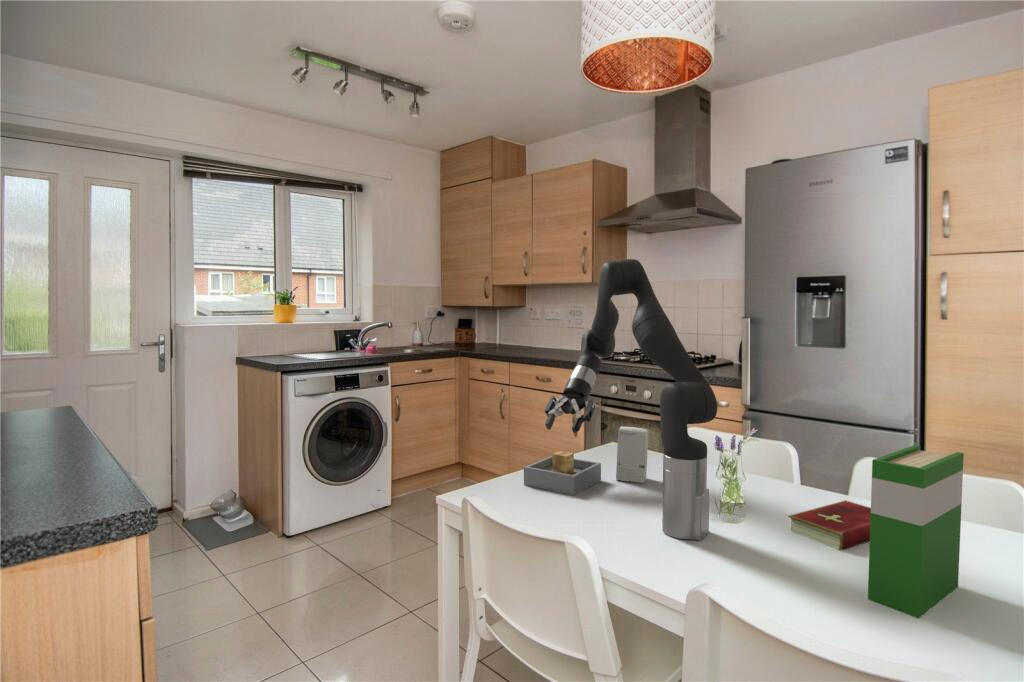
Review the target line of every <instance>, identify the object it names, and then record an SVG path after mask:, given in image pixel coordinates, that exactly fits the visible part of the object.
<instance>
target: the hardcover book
mask: <svg viewBox="0 0 1024 682" xmlns="http://www.w3.org/2000/svg"><path fill="white" fill-rule="evenodd" d="M788 518H790V523H791V524H790V531H792V533H793V534H797V535H799V534H800V536H802V537H805V538H807V537H808V539H811V540H813V541H815V542H818V541H819V542H818V543H821V544H824V545H826V544H827V545H826V546H829V547H832V548H834V549H836V550H837V549H838V551H841V550H842V551H844V550H847V549H849V548H852V547H856V546H859V545H861V544H865V543H868V542H870V519H871V506H870V507H869V506H866V505H863V504H859V503H856V502H853V501H849V500H845V499H844V500H840V501H837V502H833V503H831V504H827V505H824V506H819V507H816V508H812V509H808V510H805V511H801V512H796V513H794V514H790V515H789V514H788ZM867 541H868V542H867ZM864 542H865V543H864Z"/></svg>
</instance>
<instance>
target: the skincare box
mask: <svg viewBox="0 0 1024 682" xmlns="http://www.w3.org/2000/svg"><path fill="white" fill-rule="evenodd" d="M649 431H650V430H649V429H648V428H640V427H633V426H623V425H622V426H620V427H619V428H618V432H617V433H618V434H617V447H616V448H617V452H616V467H615V469H616V472H615V475H616V476H615V479H616V481H618V480H621V481H622V482H629V481H631V483H640V484H644V483H645V481H646V479H647V470H648V469H647V468H648V449H649V448H648V447H649Z"/></svg>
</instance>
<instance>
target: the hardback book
mask: <svg viewBox="0 0 1024 682" xmlns="http://www.w3.org/2000/svg"><path fill="white" fill-rule="evenodd" d="M964 455H965V453H964V452H958V451H957V452H954V453H952V454H945V453H938V452H933V451H926V450H921V445H917V444H914V445H911V446H908V447H904V448H902V449H900V450H899V449H898V450H897V451H893V452H891V453H887V454H885V455H882V456H880V457H877V458H873V459H872V460H871V461H872V464H871V466H872V467H871V468H872V469H871V491H870V492H871V493H870V495H871V496H870V508H871V519H870V541H869V550H868V551H869V552H868V553H869V554H868V555H869V556H868V584H867V585H868V586H867V600H868V601H871V602H872V603H873V602H874V603H877V604H879V605H882V606H885V607H887V608H890V609H892V610H895V611H898V612H899V613H900V612H901V613H903V614H906V615H907V616H908V615H909V616H910V617H912V618H915V619H920V618H922V617H923V616H924V615H925V614H926V613H928V612H929V611H930V610H932V608H934V607H935V606H936V605H938V604H939V603H940V602H941V601H942V600H944V599H945V598H946V597H947V596H949V594H951V593H953V591H954V590H956V589H958V587H959V575H960V573H959V570H960V550H961V549H960V548H961V547H960V546H961V526H962V525H961V524H962V523H961V522H962V502H963V500H962V499H963V478H964V477H963V476H964V475H963V474H964Z"/></svg>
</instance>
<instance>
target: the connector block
mask: <svg viewBox="0 0 1024 682" xmlns="http://www.w3.org/2000/svg"><path fill="white" fill-rule="evenodd" d="M574 455H575V454H574V453H573V452H569V451H564V450H560V451H557V452H554V453H552V455H551V456H552V471H553V472H559V473H564V474H569V475H574V459H575V458H574V457H575V456H574Z"/></svg>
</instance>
